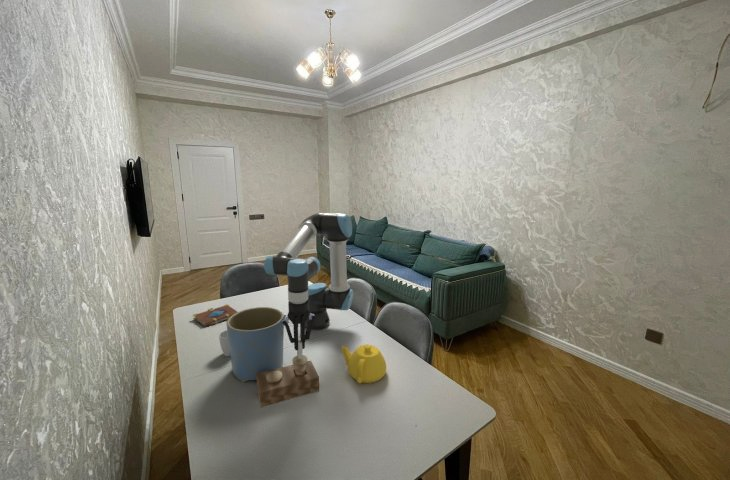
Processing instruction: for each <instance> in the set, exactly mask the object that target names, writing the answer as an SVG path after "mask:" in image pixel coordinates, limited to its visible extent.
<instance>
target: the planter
mask: <svg viewBox="0 0 730 480" xmlns="http://www.w3.org/2000/svg"><path fill="white" fill-rule="evenodd" d="M282 319H285V317H284V313H283V311H281V310H279V309H278V308H275V307H274V308H273V307H269V306H267V307H266V306H263V307H262V306H258V307H251V308H246V309H243V310H240V311H237V313H235V314H233V315H232V316H231V317H229V318H228V320H226V324H225V325H226V330H227V333H228V342H229V349H230V356H229V357H230V361H231V362H230V363H231V369H232V370H231V371H232V374H233V375H234V376H235V378H237V380H239V381H241V382H242V383H245V382H247V381H257V376H256V374H257V373H261V372H265V371H269V370H273V369H277V368H282V367H283V365H284V364H283V362H284V334H285V333H284V332H285V331H284V327H285V325H284V324H283V323H282Z"/></svg>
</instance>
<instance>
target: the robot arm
mask: <svg viewBox="0 0 730 480" xmlns="http://www.w3.org/2000/svg"><path fill="white" fill-rule="evenodd" d="M352 234H353V223H352V219H351V217H350V215H348V214H347V213H341V212H340V213H337V212H334V213H333V212H317V213H314V214H311V215H309V216H308V217H306V218H305V219H303V221H302V222H300V224H299V226H298V229H297V230H296V232H295V233H294V234H293V236H291V238H290V239H289V240H288V241H287V242H286V244H285V245H284V246H283V247H282V248H281V250H279V252H278V253H277V254H276V255H272V256H271V255H269V256H267V257H266V258H265V259H264V262H263V268H264V271H265V273H266V274H267V275H268V274H269V275H273V276H285V277H286V276H287V296H288V297H287V300H288V305H287V306H288V313H287V315H286V317H284V319H282V323H283V324H284V327H285V330H286V334H287V336H288V339H289V341H290V343H291V344H293V346H294V347H293V348H294V350H295V351H296V356H298V358H299V359H300V358H303V356H302V355H303V350H304V349H305V347H306V341H307V340H310V337H311V333H312V331H314V330H316V331H317V330H323V329H326V328H327V327H328V326H330V323H331V319H330V315H329V313H328V311H327V309H328V310H329V309H330V310H337V311H348V310H350V308H351V306H352V303H353V299H354V290H353V289H351V287H350V284H349V283H348V277H347V276H348V275H347V272H348V271H347V242H348V241H349V240H350V237H351V236H353V235H352ZM316 236H325V237H326V241H327V242H328V243H329V262H330V264H329V265H330V284H329V285H327V284H326V283H324V282H317V283H312V284H309V280H310V279H312V278H313V277H314V276H316V275H317V274H318V272H320V270H321V262H320V260H319V259H318V258H317V257H315V256H309V257H306V258H298V257H299V256H300V254H302V252H303V251H304V249H305V247H306V246H307V245H308V244H309V242H310V241H311V239H315V237H316ZM327 286H328V287H327ZM290 322H291V323H292V324H293V325H292V326H293V334H292V332H291V331H292V330H291V328H290V325H289V323H290ZM299 328H300V330H299ZM299 333H300V334H299ZM299 335H300V337H299Z"/></svg>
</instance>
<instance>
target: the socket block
mask: <svg viewBox="0 0 730 480" xmlns="http://www.w3.org/2000/svg"><path fill="white" fill-rule="evenodd" d="M271 371H280V372H282V379H281V380H280V381H279V382H276V383H270V384H269V382H268V381H267V378H266V376H267V374H268V373H269V372H271ZM256 376H257V380H256V388H257V394H258V398H259V405H260V408H264V407H267V406H271V405H274V404H277V403H280V402H283V401H284V402H285V401H288V400H290V399H295V398H297V397H298V398H299V397H302V396H305V395H308V394H312V393H315V392H319V391H320V376H319V374H318V372H317V370H316V367H315V365H314V364H313V362H312V360H307V363H306V364H305V375H301V376H297V377H296V376H295V365H293V364H291V365H287V366H282V367H281V368H277V369H273V370H269V371H265V372H261V373H257V374H256Z"/></svg>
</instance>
